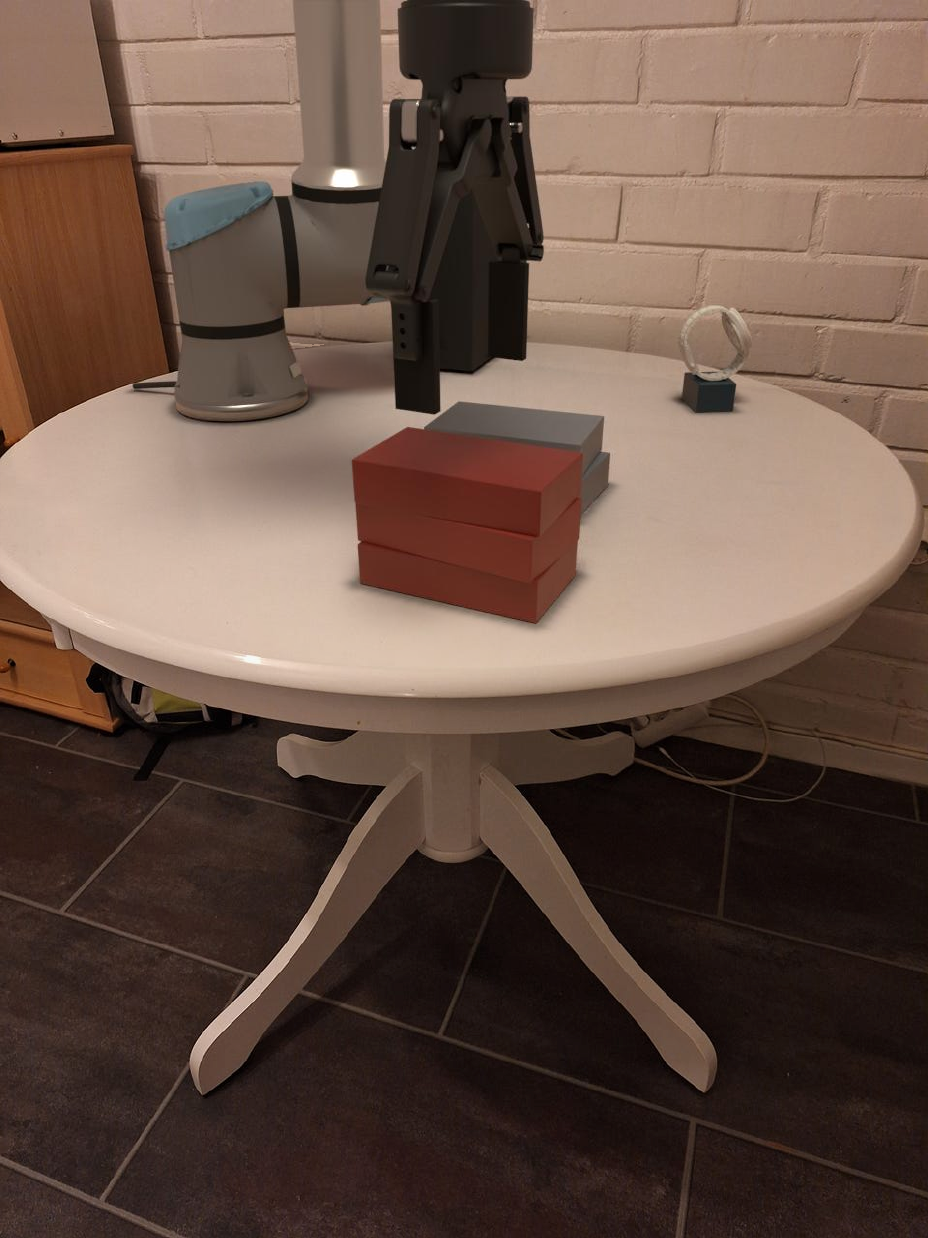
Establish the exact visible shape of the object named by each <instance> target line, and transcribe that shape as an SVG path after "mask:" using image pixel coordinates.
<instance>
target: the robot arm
mask: <svg viewBox="0 0 928 1238" xmlns="http://www.w3.org/2000/svg"><path fill="white" fill-rule="evenodd" d="M534 10H535V8H534V7H532V6H531V1H529V0H403V1H402V2H401V3H400V7H399V8H397V33H398V34H397V36H398V65H399V72H400V73H401V75H402V77H403V78H405V79H407V80H410V81H411V80H413V81H420V82H421V85H422V86H421V95H420V96H421V97H420V98H394V99H392V100H391V101H390V104H389V108H388V109H389V110H388V150H387V155H386V159H385V137H384V135H385V134H384V132H385V131H384V97H383V95H384V94H383V93H384V92H383V62H382V61H383V59H382V58H383V56H382V21H381V20H382V19H381V0H292V12H293V21H294V22H293V23H294V25H293V26H294V38H295V39H294V40H295V52H296V53H295V54H296V63H297V64H296V66H297V68H296V69H297V81H298V94H299V104H300V105H299V107H300V122H301V134H302V135H301V136H302V149H303V159H302V162H301V163H300V164H299V165H298V166H297V167H296V169H295V170H294V171H293V172H292V174H291V178H290V180H291V194H289V195H274V189H273V188H272V186H271V184H270V183H269V182H268V181H250V182H240V183H233V184H225V185H219V186H215V187H209V188H205V189H200V190H199V189H198V190H194V191H191V192H187V193H183V194H180V195H177V196H174V197H173V198H171V199H170V200H169V201H168V203H167V204H166V205H165V208H164V211H163V219H164V227H165V228H164V229H165V230H164V231H165V237H166V239H165V240H166V243H165V251H168V253H169V261H170V268H171V275H172V281H173V289H174V294H175V301H176V309H177V316H178V322H179V327H180V334H181V345H180V346H181V347H180V353H179V359H178V365H177V380H174V381H173V380H172V381H150V382H148V381H147V382H133V384H132V389H134V390H142V389H143V390H144V389H161V388H164V389H166V388H174V392H173V394H174V400H175V401H174V402H175V406H176V407H175V408H176V410H177V411H178V412H179V413H180V414H182V415H184V416H187V417H189V418H193V419H197V420H203V421H212V422H241V421H242V422H243V421H254V420H261V419H267V418H272V417H278V416H281V415H284V414H288V413H291V412H293V411H295V410H297V409H300V408H302V407H303V406H305V404H306V403H307V402H308V399H309V395H308V385H307V384H308V383H307V381H306V378H305V376H304V375H303V370H302V368H301V365H300V363H299V361H298V360H297V358H296V355H295V352H294V349H293V347H292V345H291V343H290V340H289V338H288V335H287V331H286V320H285V312H284V311H285V309H298V308H301V309H302V308H315V307H316V308H317V307H318V308H319V307H333V306H334V307H336V306H350V305H360V306H363V307H365V306H369V305H371V304H376V303H385V302H389V303H390V314H391V330H392V331H391V332H392V333H391V336H392V355H393V357H392V359H393V381H394V402H395V406H394V407H395V410H399V411H400V410H402V411H408V412H413V413H421V414H428V415H432V416H433V415H434V416H435V415H437V414H439V413H440V412H441V368H440V351H439V300H437V299H429V296H430V293H431V290H432V287H433V284H434V280H435V277H436V274H437V271H438V267H439V264H440V261H441V258H442V254H443V251H444V248H445V245H446V242H447V238H448V235H449V232H450V229H451V225H452V222H453V219H454V216H455V213H456V209H457V206H458V203H459V200H460V199H461V198H462V197H464V196H466V195H467V194H468V193H469V192H470V190H471V188H472V190H473V192H474V195H475V198H476V201H477V204H478V207H479V210H480V212H481V215H482V218H483V221H484V224H485V227H486V229H487V232H488V235H489V238H490V241H491V244H492V246H493V249H494V252H495V255H496V257H497V258H501V261H495V260H493V261H490V262H489V298H488V357H491V358H494V359H501V360H510V361H518V362H523V361H525V360H526V359H527V349H528V348H527V347H528V346H527V345H528V315H529V314H528V313H529V286H530V285H529V284H530V282H529V281H530V263H529V262H541V261H542V260H543V258H544V253H545V247H544V244H543V243H544V240H545V239H544V227H543V221H542V215H541V214H542V213H541V207H540V200H539V192H538V186H537V185H538V184H537V177H536V172H535V171H536V170H535V164H534V157H533V150H532V144H531V133H530V132H531V131H530V130H531V127H530V126H531V125H530V120H531V119H530V101H529V98H528V96H508V95H507V89H506V84H507V81H508V80H524V79H526V78H528V77H529V75H530V74H531V72H532V70H533V69H532V68H533V49H534V45H533V44H534V18H535V17H534V13H535V12H534ZM528 261H529V262H528Z"/></svg>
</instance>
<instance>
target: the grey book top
mask: <svg viewBox="0 0 928 1238" xmlns="http://www.w3.org/2000/svg"><path fill="white" fill-rule="evenodd" d="M604 425H605V416H604V415H597V414H588V413H587V414H586V413H577V412H567V411H559V410H558V411H557V410H549V409H548V410H547V409H539V408H529V407H528V408H527V407H518V406H509V405H499V404H489V403H479V402H469V401H461V400H459V401H457V402H456V403H454V404H453V405H452V406H451V407H449V408H447V409H446V410H445V411H444V412H442V413H441V414H440V415H438V416H437V417H436V418H435V419H433V420H432V421H430V422H429V423H427V424H426V425H425V426H424V427H423V429H425V430H432V431H439V432H446V433H452V434H459V435H466V436H473V437H479V438H486V439H493V440H500V441H506V442H513V443H520V444H527V445H533V446H540V447H547V448H554V449H560V450H567V451H574V452H581V453H583V462H582V476H583V475H584V473H585V472H586V471H587V469H588V468H589V467H590V465H591V464H592V463H593V461H594V460H595V459H596V457H597V456H598V455H599V453H600V452H603V441H604V428H605V427H604Z"/></svg>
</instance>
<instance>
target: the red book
mask: <svg viewBox="0 0 928 1238" xmlns="http://www.w3.org/2000/svg"><path fill="white" fill-rule="evenodd" d="M582 462H583V453H581V452H574V451H567V450H560V449H554V448H547V447H540V446H533V445H527V444H520V443H513V442H506V441H500V440H493V439H486V438H479V437H473V436H466V435H459V434H452V433H446V432H439V431H432V430H425V429H424V428H417V427H412V426H406V427H405V428H402V430H400V431H398V432H395V434H393V435H391V436H389V437H388V438H386V439H384V440H382V441H381V442H379V443H377V444H376V445H374V446H372V447H370V448H369V449H367V450H365V451H364V452H362V453H360V454H358V455H357V456H355V457H353V458H352V459H351V471H352V473H351V474H352V485H353V500H354V504H355V503H361V504H366V505H371V506H377V507H382V508H387V509H392V510H398V511H403V512H408V513H414V514H419V515H424V516H429V517H435V518H440V519H445V520H451V521H456V522H461V523H466V524H472V525H477V526H482V527H488V528H493V529H498V530H503V531H509V532H514V533H519V534H525V535H530V536H535V537H540V536H541V535H542V534H543V533H544V532H545V531H546V530H547V529H548V528H549V527H550V526H551V525H552V524H553V523H554V522H555V521H556V520H557V519H558V518H559V517H560V516H561V514H562V513H563V512H564V511H565V510H566V509H567V508H568V507H569V506H570V505H571V504H572V503H573V502H574V501H575V500H576V499H577V498H578V497H579V496H580V495H581V479H582Z"/></svg>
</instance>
